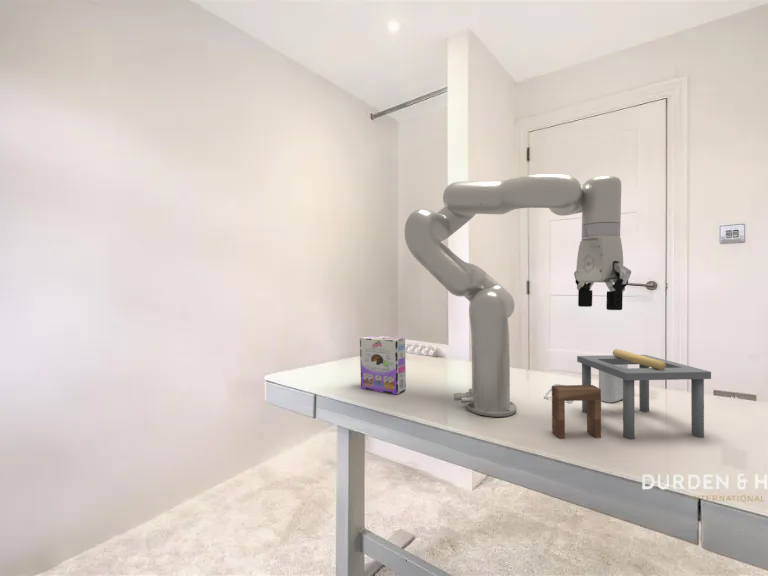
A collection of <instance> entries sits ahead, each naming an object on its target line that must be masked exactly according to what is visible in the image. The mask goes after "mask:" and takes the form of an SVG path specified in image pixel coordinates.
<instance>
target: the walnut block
mask: <svg viewBox="0 0 768 576" xmlns="http://www.w3.org/2000/svg"><path fill="white" fill-rule="evenodd" d="M551 387H552V391H551V397H552V398H551V432H552V433H551V434H553V435H554V436H555V437H557V438H558V439H559V440H561V439H566V421H565V418H566V416H565V414H566V413H565V410H566V404H565V403H566V401H573V402H574V401H575V402H576V401H581V402H582V401H585V400H587V413H586V432H587V433H588V434H590V435H591V437H594V438H595V439H596V438H597V439H601V438H602V401H601V389H600V388H599V386H595V385H593V384H591V385H582V384H577V385H576V384H575V385H567V384H560V386H553V385H551Z"/></svg>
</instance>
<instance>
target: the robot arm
mask: <svg viewBox="0 0 768 576" xmlns="http://www.w3.org/2000/svg"><path fill="white" fill-rule="evenodd" d="M442 201H443V204H444V206H443V207H442V208H441V209H440V210H439V211H437V212H436V211H434V210H431V209H427V208H420V209H416V210H414V211H412V212H411V213H410V214H409V216H408V217H407V219H406V221H405V224H404V239H405V240H404V241H405V243H406V246H407V248H408V250H409V252H410V254H411V255H412V256H413V257H414V258H415V260H416V261H417V262H418V263H420V265H421V266H423V267H424V268H425V270H427V271H428V272H429V273H430V275H432V277H434V279H435V280H437V281H438V282H439V283H440V284H441V285H442V286H443V287H444V288H445V290H447V291H448V292H449V293H450V294H452V295H454V296H456V297H463V298H465V299H466V300H467V301H468V302H469V308H468V315H469V324H470V332H471V333H470V334H471V337H470V338H471V388H468V391H466V392H465V393H462V392H456V393H454V394H453V399H454V401H455V402H456V401H457V402H458V401H460V402H461V403H463V404H464V403H465V406H466V408H467V410H468V411H470V412H471V413H473V414H477V415H481V416H485V417H493V418H499V417H501V418H502V417H510V416H513V415H514V414H515V413H516V412H517V405H516V404H515V403H514V402H512V401H511V398H510V397H511V393H510V392H511V389H510V388H511V387H510V386H511V384H510V379H511V374H510V373H511V371H510V370H511V369H510V368H511V366H510V364H511V363H510V362H511V361H510V359H511V358H510V357H511V356H510V331H509V318H510V317H511V316H512V315H513V313H514V310H515V300H514V297H513V296H512V294H511V293H510V292H509V291H508V290H507V289H506V288H504V287H503V286H502V285H501V284H500V282H499V283H498V281H496V280H495V279H494V278H493V277H492V276H490V274H488V273H487V272H486V271H485V270H484V269H482V268H481V267H479V266H478V265H475V264H474V263H469V262H467V261H464V260H463V259H462V258H460V257H459V256H458V255H457V254H455V253H454V252H453V251H452V250H451V249H450V248H449V247H448V246H446V245H445V244H444V243H442V242H443V241H445V240H447V239H448V238H450V237H451V236H452V235H454V233H456V232H458V231H459V229H461V228H462V227H464V226H465V225H466V224H467V223H468V222H470V221H471V219H472V218H474V217H475V216H476V215H504V214H507V213H509V212H512V211H515V210H519V209H525V208H526V209H531V208H534V209H536V208H539V209H549V210H550V212H552V213H553V214H555V215H557V216H563V217H565V216H570V215H575V214H580V213H581V215H582V216H581V240H580V242H579V245H578V250H577V258H576V269H575V271H574V272H573V275H574V279H575V281H574V282H575V284H576V290H578V294H577V296H578V297H577V299H578V300H577V302H578V303H577V306H578V307H579V308H583V307H585V308H586V307H588V308H591V307H592V306H593V290H592V287H593V286H594V285H595V284H594V283H605V285H606V287H607V288H608V290H607V291H606V303H605V304H606V306H605V307H606V309H607V311H623V294H624V291H625V290H626V287H627V285H628V284H629V280H630V277H631V274H632V270H631V269H629V268H627V267H626V266H624V254H623V253H624V252H623V243H622V238H621V218H622V216H621V214H622V180H621V179H620V178H619V177H617V176H615V175H614V176H613V175H603V176H596V177H593V178H590V179H588V180H586V181H585V182H584V184H581V183H580V181H579V180H578V179H577V178H576V177H574V176H572V175H567V174H561V173H558V174H556V173H554V174H552V173H551V174H532V175H531V174H530V175H523V176H517V177H513V178H508V179H504V180H503V179H501V180H471V181H470V180H467V181H465V180H464V181H462V180H461V181H455V182H452V183H449V185H447V186H446V187H445V189H444V191H443V195H442Z"/></svg>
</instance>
